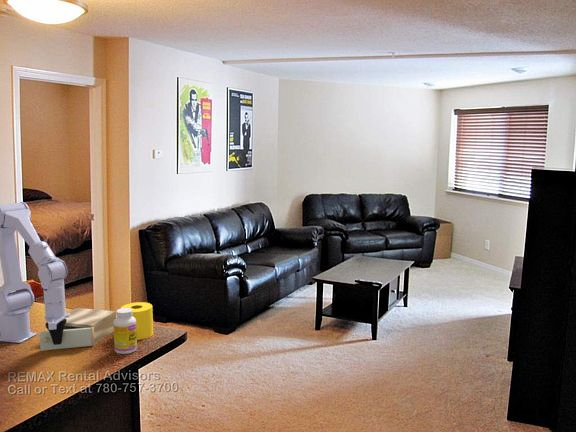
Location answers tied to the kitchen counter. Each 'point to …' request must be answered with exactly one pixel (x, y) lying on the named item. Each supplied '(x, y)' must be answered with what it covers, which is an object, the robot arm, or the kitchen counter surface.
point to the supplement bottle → (125, 331)
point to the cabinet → (92, 321)
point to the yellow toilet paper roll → (142, 318)
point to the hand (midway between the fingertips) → (57, 344)
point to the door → (68, 339)
